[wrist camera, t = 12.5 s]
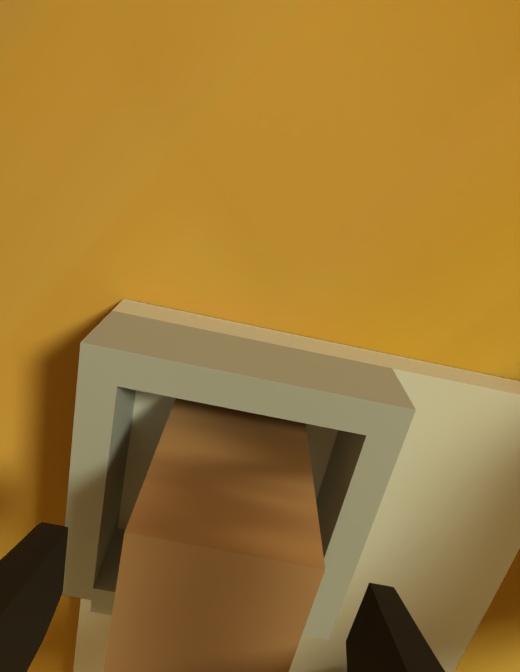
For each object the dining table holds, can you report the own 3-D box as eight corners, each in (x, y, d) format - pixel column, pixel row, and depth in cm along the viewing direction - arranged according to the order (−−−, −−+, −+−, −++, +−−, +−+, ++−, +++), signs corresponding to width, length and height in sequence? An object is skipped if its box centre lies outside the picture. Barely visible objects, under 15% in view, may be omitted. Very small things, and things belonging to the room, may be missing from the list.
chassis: (571, 392, 16) (710, 502, 11) (408, 714, 22) (449, 881, 17) (123, 298, 15) (50, 372, 10) (81, 661, 21) (22, 821, 16)
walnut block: (304, 414, 15) (325, 569, 9) (272, 524, 17) (273, 712, 11) (179, 388, 15) (124, 532, 9) (158, 503, 16) (101, 685, 11)
